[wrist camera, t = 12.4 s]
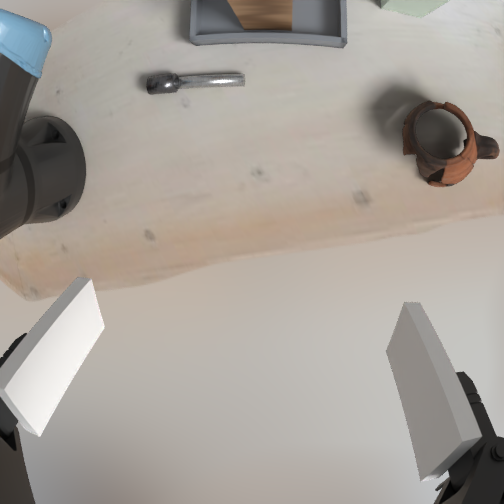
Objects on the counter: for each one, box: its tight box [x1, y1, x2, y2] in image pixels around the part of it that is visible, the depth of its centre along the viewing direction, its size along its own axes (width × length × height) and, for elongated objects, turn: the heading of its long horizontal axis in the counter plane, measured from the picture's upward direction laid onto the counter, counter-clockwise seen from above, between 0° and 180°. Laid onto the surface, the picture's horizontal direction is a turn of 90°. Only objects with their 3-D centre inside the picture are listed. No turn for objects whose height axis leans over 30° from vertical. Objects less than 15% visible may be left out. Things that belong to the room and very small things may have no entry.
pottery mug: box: [403, 101, 500, 187], centre depth 28 cm, size 12×10×8 cm
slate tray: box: [189, 0, 347, 48], centre depth 25 cm, size 16×8×3 cm, turn 89°
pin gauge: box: [147, 74, 245, 95], centre depth 30 cm, size 10×2×2 cm, turn 89°
